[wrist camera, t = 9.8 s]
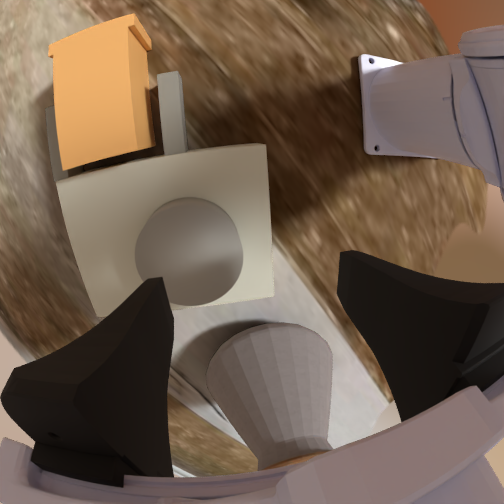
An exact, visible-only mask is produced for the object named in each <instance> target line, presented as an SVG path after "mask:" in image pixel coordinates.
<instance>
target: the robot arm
mask: <svg viewBox="0 0 504 504" xmlns="http://www.w3.org/2000/svg"><path fill="white" fill-rule="evenodd" d="M458 47H459V49H460V51H461V53H462V54H454V55H446V56H440V57H433V58H427V59H422V60H417V61H412V62H407V63H401V62H397V61H394V60H389V59H385V58H381V57H376V56H372V55H367V54H362V55H360V56H359V57H358V63H359V72H360V82H361V94H362V109H363V132H364V151H365V152H366V153H367V154H370V155H395V156H413V157H427V158H439V159H443V160H447V161H451V162H455V163H458V164H462V165H466V166H469V167H473V168H476V169H479V170H481V171H482V172H483V174H484V177H485V181H486V183H489V184H492V185H494V186H497V187H500V191H501V196H502V199H503V201H504V25H498V26H491V27H485V28H480V29H475V30H471V31H468V32H465V33H463V34H462V37H461V41H460V42H459V43H458ZM369 59H370V60H371V61H372V64H371V63H370V62H369ZM375 146H377V150H376V151H375V149H374V147H375ZM337 295H338V297H339V299H340V302H341V304H342V306H343V308H344V310H345V312H346V313H347V315H348V316H349V318H350V319H351V321H352V322H353V323H354V325H355V326H356V328H357V329H358V331H359V332H360V334H361V335H362V336H363V338H364V339H365V341H366V342H367V344H368V345H369V347H370V348H371V350H372V352H373V353H374V355H375V357H376V359H377V361H378V363H379V365H380V367H381V369H382V371H383V373H384V375H385V378H386V380H387V382H388V385H389V387H390V389H391V392H392V395H393V397H394V400H395V403H396V406H397V409H398V411H399V415H400V418H401V423H399V424H397V425H395V426H393V427H390V428H388V429H386V430H383V431H381V432H378V433H376V434H373V435H371V436H368V437H366V438H363V439H360V440H358V441H355V442H352V443H349V444H346V445H344V446H341V447H339V448H336V449H334V450H331V451H329V452H326V453H323V454H321V455H318V456H315V457H313V458H311V459H309V460H307V461H305V462H301V463H297V464H293V465H288V466H284V467H279V468H274V469H268V470H262V471H256V472H249V473H242V474H233V475H223V476H210V477H183V478H174V474H173V468H172V461H171V453H170V444H169V433H168V415H167V388H168V378H169V370H170V363H171V356H172V348H173V341H174V317H173V314H172V310H171V307H170V303H169V300H168V296H167V292H166V288H165V284H164V280H163V277H156V278H148V279H147V280H145V281H144V282H143V283H142V284H141V285H140V286H139V287H138V288H137V289H136V290H135V291H134V292H133V293H132V294H131V295H130V296H129V297H128V298H127V299H126V300H125V301H124V302H123V303H122V304H120V305H119V306H118V307H117V308H116V309H115V310H114V311H113V312H112V313H110V314H109V315H108V316H107V317H106V318H105V319H104V320H102V321H101V322H100V323H99V324H97V325H96V326H95V327H93V328H92V329H91V330H89V331H88V332H87V333H85V334H84V335H82V336H81V337H79V338H77V339H76V340H74V341H73V342H71V343H69V344H68V345H66V346H64V347H63V348H61V349H59V350H57V351H55V352H53V353H51V354H49V355H47V356H45V357H43V358H40V359H38V360H35V361H33V362H30V363H27V364H25V365H22V366H20V367H16V368H14V370H13V371H12V373H11V375H10V377H9V379H8V381H7V383H6V385H5V387H4V389H3V391H2V393H1V397H0V399H1V402H2V405H3V407H4V409H5V410H6V412H7V413H8V415H9V416H10V417H11V418H12V419H13V420H14V421H15V423H16V424H18V426H19V427H20V428H21V429H22V430H23V431H25V432H26V433H27V434H28V435H29V436H30V437H31V438H32V439H33V440H34V441H35V445H34V449H32V448H30V447H29V446H27V445H25V444H23V443H20V442H17V441H14V440H11V439H8V438H6V437H5V438H3V440H2V443H1V446H0V502H1V503H3V504H504V488H503V486H502V484H501V483H500V481H499V479H498V477H497V476H496V474H495V472H494V471H493V469H492V467H491V466H490V464H489V463H488V461H487V459H486V458H485V456H484V455H485V454H486V453H487V452H488V451H489V450H490V449H492V448H493V447H494V446H495V445H496V444H497V443H498V442H499V441H500V440H501V439H502V438H503V437H504V283H470V282H461V281H455V280H448V279H443V278H438V277H434V276H430V275H426V274H422V273H419V272H416V271H413V270H410V269H407V268H403V267H401V266H398V265H395V264H392V263H390V262H387V261H384V260H382V259H379V258H377V257H374V256H371V255H368V254H365V253H362V252H359V251H355V250H351V251H344V252H340V262H339V275H338V286H337Z"/></svg>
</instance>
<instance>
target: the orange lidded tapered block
mask: <svg viewBox="0 0 504 504" xmlns="http://www.w3.org/2000/svg"><path fill="white" fill-rule="evenodd" d="M149 50H152V48H151V39H150V38H149V36H148V34H147V33H146V31H145V30H144V28H143V26H142V25H141V23H140V22H139V20H138V19H137V17H136V15H135V14H134V13H133V14H130V15H126V16H123V17H119V18H116V19H113V20H110V21H107V22H104V23H101V24H98V25H95V26H92V27H90V28H87V29H85V30H82V31H80V32H77V33H75V34H72V35H70V36H68V37H65V38H63V39H61V40H59V41H57V42H55V43H53V44H51V45H49V57H51V58H53V85H54V105H55V117H56V127H57V136H58V143H59V150H60V157H61V163H62V168H63V171H64V170H67V169H71V168H74V167H77V166H80V165H84V164H87V163H90V162H94V161H97V160H101V159H105V158H108V157H112V156H116V155H120V154H124V153H128V152H133V151H137V150H141V149H145V148H149V147H154V146H156V142H155V135H154V127H153V119H152V110H151V101H150V90H149V79H148V66H147V51H149Z"/></svg>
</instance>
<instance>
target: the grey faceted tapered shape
mask: <svg viewBox="0 0 504 504" xmlns="http://www.w3.org/2000/svg"><path fill="white" fill-rule="evenodd" d="M332 368H333V356H332V351H331V349H330V347H329V345H328V343H327V342H326V341H325V340H324V339H323V338H322V337H321V336H320V335H319V334H317V333H316V332H314V331H312V330H310V329H308V328H305V327H303V326H301V325H298V324H290V323H269V324H263V325H259V326H256V327H252V328H248V329H246V330H244V331H242V332H240V333H238V334H236V335H234V336H233V337H231V338H230V339H229V340H227V341H226V342H225V343H223V344H222V345H221V346H220V348H219V349H218V350H217V352H216V353H215V354H214V356H213V357H212V359H211V361H210V363H209V366H208V369H207V372H206V382H207V388H208V389H209V391H210V393H211V395H212V396H213V398H214V400H215V401H216V403H217V404H218V405H219V407H220V408H221V410H222V411H223V413H224V414H225V416H226V417H227V419H228V420H229V421H230V423H231V424H232V426H233V427H234V428H235V430H236V431H237V432H238V434H239V435H240V436H241V438H242V439H243V441H244V442H245V443H246V444H247V446H248V447H249V448H250V450H251V451H252V452H253V454H254V455H255V456H256V457H257V459H258V471H262V470H268V469H274V468H279V467H284V466H288V465H293V464H297V463H301V462H305V461H307V460H309V459H311V458H313V457H315V456H318V455H321V454H323V453H326V452H329V451H331V450H334V449H333V448H332V447H331V445H330V444H329V443H328V441H327V438H328V427H329V416H330V403H331V388H332Z"/></svg>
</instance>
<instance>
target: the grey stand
mask: <svg viewBox="0 0 504 504" xmlns="http://www.w3.org/2000/svg"><path fill="white" fill-rule="evenodd" d="M157 80H158V94H159V106H160V117H161V127H162V137H163V146H164V154H163V155H158V156H152V157H147V158H141V159H136V160H132V161H127V162H122V163H118V164H113V165H109V166H105V167H101V168H97V169H93V170H89V171H85V172H84V169H83V165H80V166H77V167H74V168H71V169H67V170H64V171H63V168H62V163H61V157H60V150H59V143H58V136H57V127H56V117H55V105H53V106H50V107H48V108H46V109H45V112H46V126H47V136H48V145H49V153H50V160H51V166H52V173H53V178H54V182H56V181H57V182H56V185H57V190H58V195H59V200H60V204H61V209H62V213H63V217H64V221H65V225H66V229H67V232H68V236H69V239H70V243H71V246H72V249H73V253H74V256H75V259H76V262H77V265H78V268H79V271H80V274H81V277H82V280H83V282H84V285H85V288H86V290H87V293H88V296H89V298H90V301H91V303H92V306H93V308H94V310H95V313H96V315H97V317H107V316H108V315H109V314H110V313H112V312H113V311H114V310H115V309H116V308H117V307H118V306H119V305H120V304H122V303H123V302H124V301H125V300H126V299H127V298H128V297H129V296H130V295H131V294H132V293H133V292H134V291H135V290H136V289H137V288H138V287H139V286H140V285H141V284H142V283H143V282H144V281H145V280H147V279H148V278H156V277H163V280H164V284H165V288H166V292H167V296H168V300H169V303H170V307H171V310H179V309H188V308H196V307H204V306H212V305H219V304H226V303H234V302H241V301H248V300H254V299H261V298H267V297H274V276H273V254H272V234H271V216H270V199H269V182H268V167H267V152H266V145H265V144H259V143H251V144H239V145H229V146H220V147H211V148H203V149H196V150H189V151H188V143H187V134H186V124H185V113H184V102H183V90H182V79H181V77H180V74H179V72H178V71H174V72H168V73H163V74H158V75H157Z"/></svg>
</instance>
